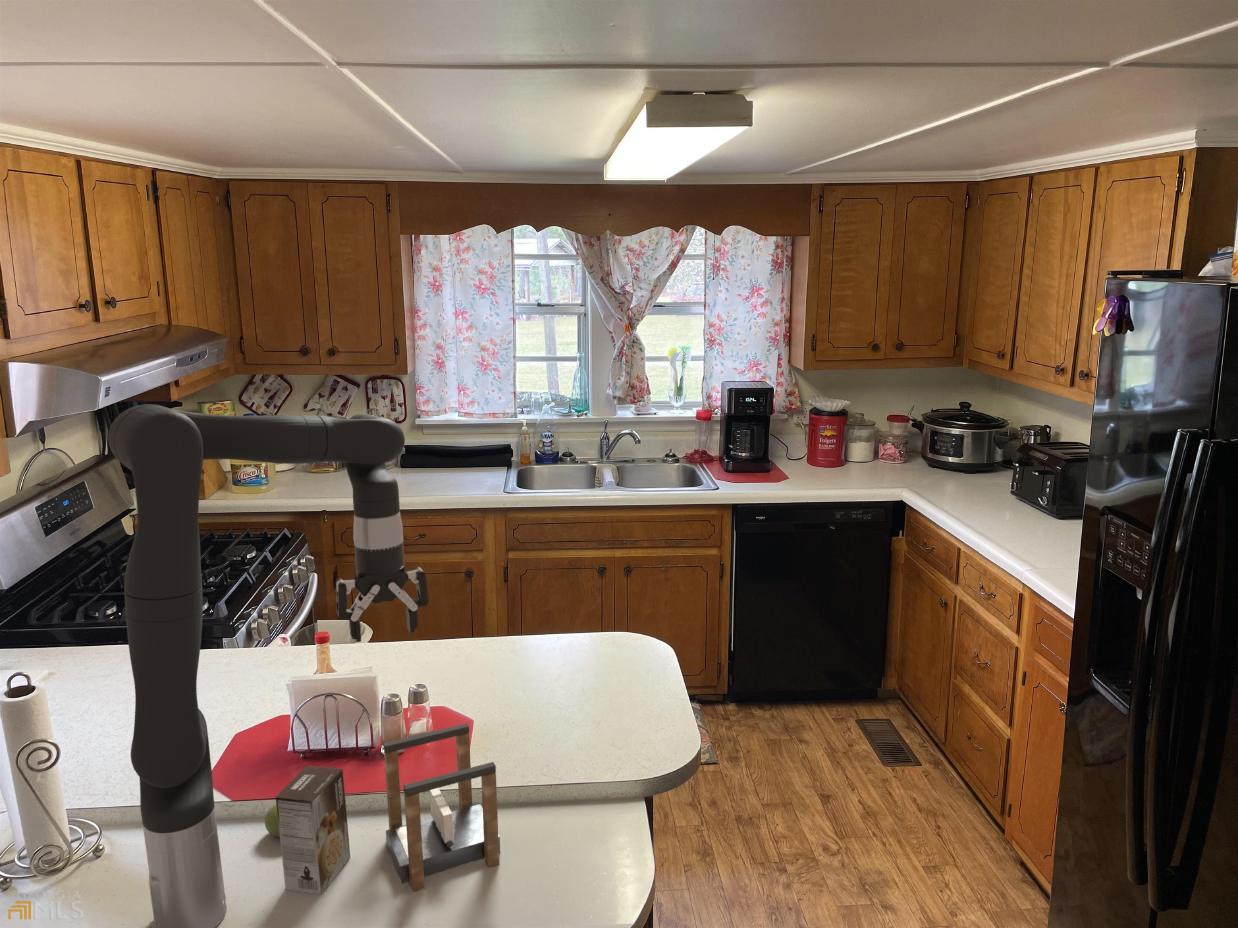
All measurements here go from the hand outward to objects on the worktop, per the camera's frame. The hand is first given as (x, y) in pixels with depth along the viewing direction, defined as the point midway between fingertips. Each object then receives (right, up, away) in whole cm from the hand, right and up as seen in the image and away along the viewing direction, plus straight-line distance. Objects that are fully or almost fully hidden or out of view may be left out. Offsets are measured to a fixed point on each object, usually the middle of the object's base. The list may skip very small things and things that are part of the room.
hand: (384, 635), depth 146 cm
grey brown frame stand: (+9, -35, 0) cm, 36 cm away
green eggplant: (-16, -34, +4) cm, 38 cm away
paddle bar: (+9, -32, -1) cm, 33 cm away
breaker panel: (+9, -35, 0) cm, 36 cm away
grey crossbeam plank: (+12, -21, -9) cm, 26 cm away
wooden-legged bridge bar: (+6, -18, +2) cm, 19 cm away
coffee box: (-9, -36, -5) cm, 38 cm away
